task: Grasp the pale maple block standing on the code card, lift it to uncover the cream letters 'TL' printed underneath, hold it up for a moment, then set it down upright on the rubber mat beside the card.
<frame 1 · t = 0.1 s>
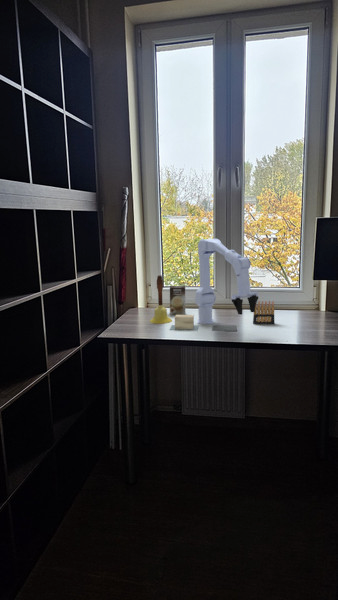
hand: (246, 313, 190), 11 cm above the table, tool pointing down, fingers open, 7 cm apart
handbell: (161, 321, 223), on the table
ammunition clip: (263, 324, 213), on the table
coffee box: (177, 314, 240), on the table
maple block: (184, 327, 208), resting on code card
code card: (184, 328, 208), on the table
rubber mat: (224, 328, 205), on the table
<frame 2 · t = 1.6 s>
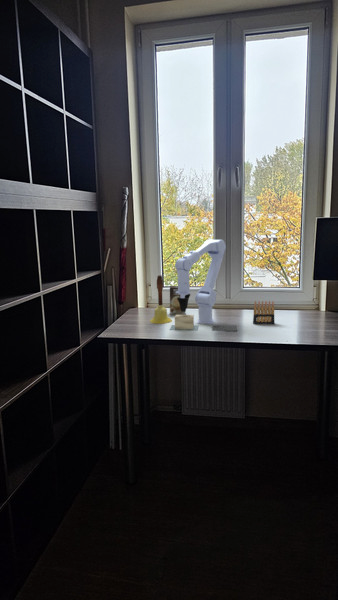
hand: (184, 309, 206), 9 cm above the table, tool pointing down, fingers open, 7 cm apart
nothing on the table moved.
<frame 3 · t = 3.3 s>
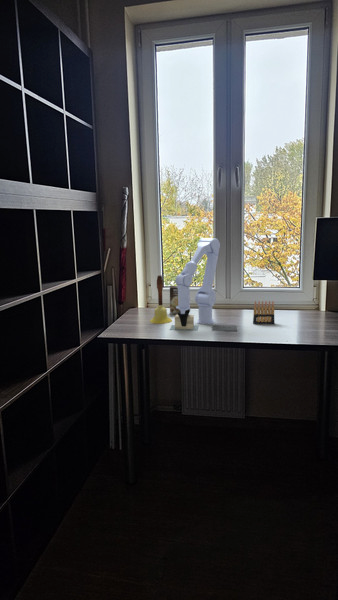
hand: (184, 324, 208), 2 cm above the table, tool pointing down, fingers closed on maple block, 5 cm apart
maple block: (184, 327, 208), resting on code card, touching gripper
everything else where it was.
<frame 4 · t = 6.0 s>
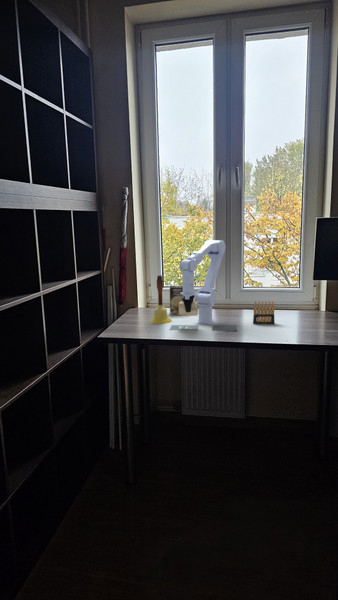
hand: (188, 310, 206), 9 cm above the table, tool pointing down, fingers closed on maple block, 5 cm apart
maple block: (188, 314, 206), point 7 cm above the table, touching gripper
everything else where it was.
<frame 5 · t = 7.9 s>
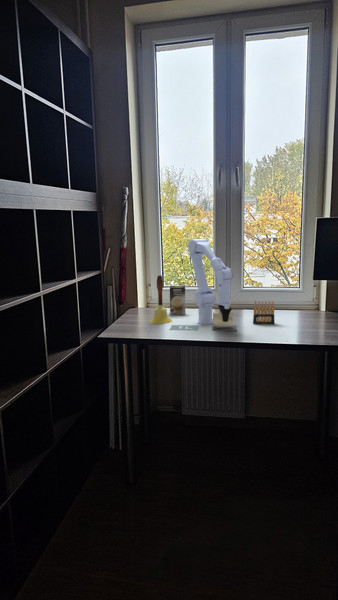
hand: (224, 320, 204), 4 cm above the table, tool pointing down, fingers closed on maple block, 5 cm apart
maple block: (223, 324, 205), point 2 cm above the table, touching gripper
everything else where it was.
when the fingers open (3 cm above the table, at t = 9.1 s): maple block stays where it is, resting on rubber mat.
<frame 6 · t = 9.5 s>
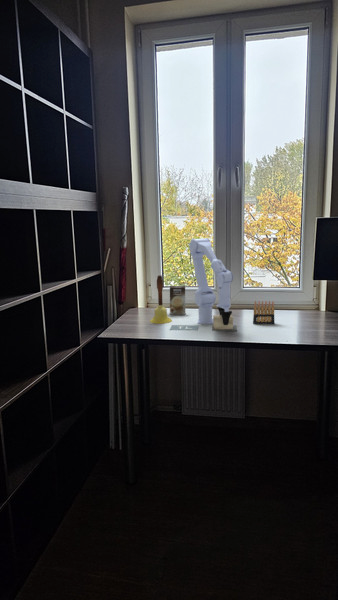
hand: (224, 323, 205), 3 cm above the table, tool pointing down, fingers open, 7 cm apart
maple block: (223, 327, 205), resting on rubber mat
everything else where it was.
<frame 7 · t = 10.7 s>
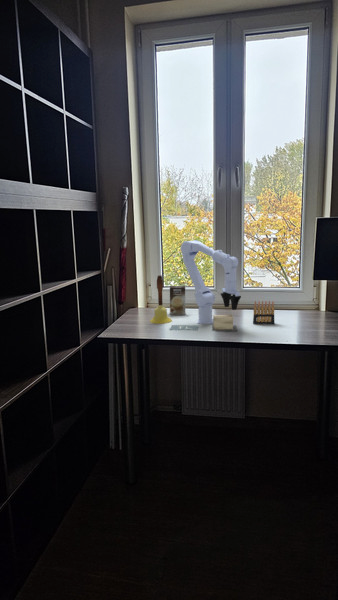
hand: (230, 308, 207), 9 cm above the table, tool pointing down, fingers open, 7 cm apart
nothing on the table moved.
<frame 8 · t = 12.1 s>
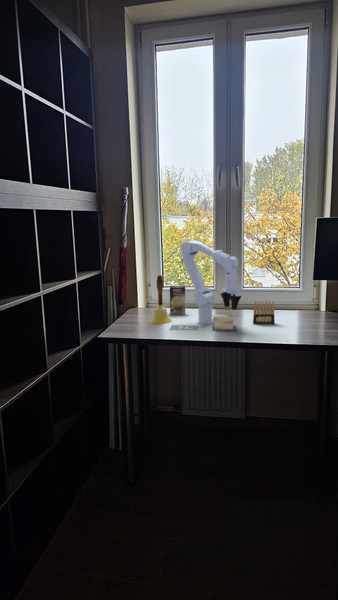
hand: (230, 308, 207), 9 cm above the table, tool pointing down, fingers open, 7 cm apart
nothing on the table moved.
at the end: maple block 0.7 cm off-centre on the rubber mat, point 0.3 cm above the rubber mat's base; maple block tilted 0°; the gripper is holding nothing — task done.
